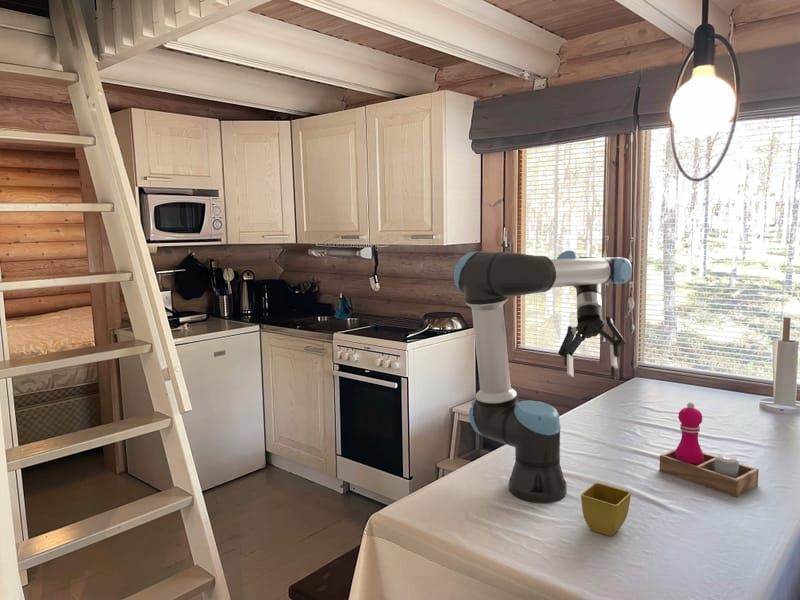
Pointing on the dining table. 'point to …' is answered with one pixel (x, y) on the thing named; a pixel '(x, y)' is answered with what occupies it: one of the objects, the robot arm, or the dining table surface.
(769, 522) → the dining table surface
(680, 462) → the caddy
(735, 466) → the salt jar
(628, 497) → the flower pot
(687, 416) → the pepper mill
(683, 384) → the dining table surface
